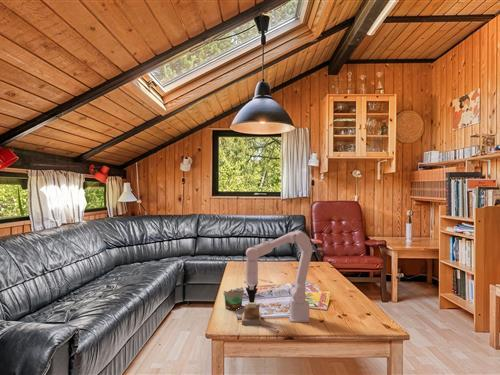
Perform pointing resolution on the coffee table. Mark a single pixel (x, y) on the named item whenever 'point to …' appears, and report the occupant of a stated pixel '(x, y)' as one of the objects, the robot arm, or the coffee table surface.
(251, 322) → the dock
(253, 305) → the block
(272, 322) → the coffee table surface
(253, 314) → the brown block
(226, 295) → the food container
